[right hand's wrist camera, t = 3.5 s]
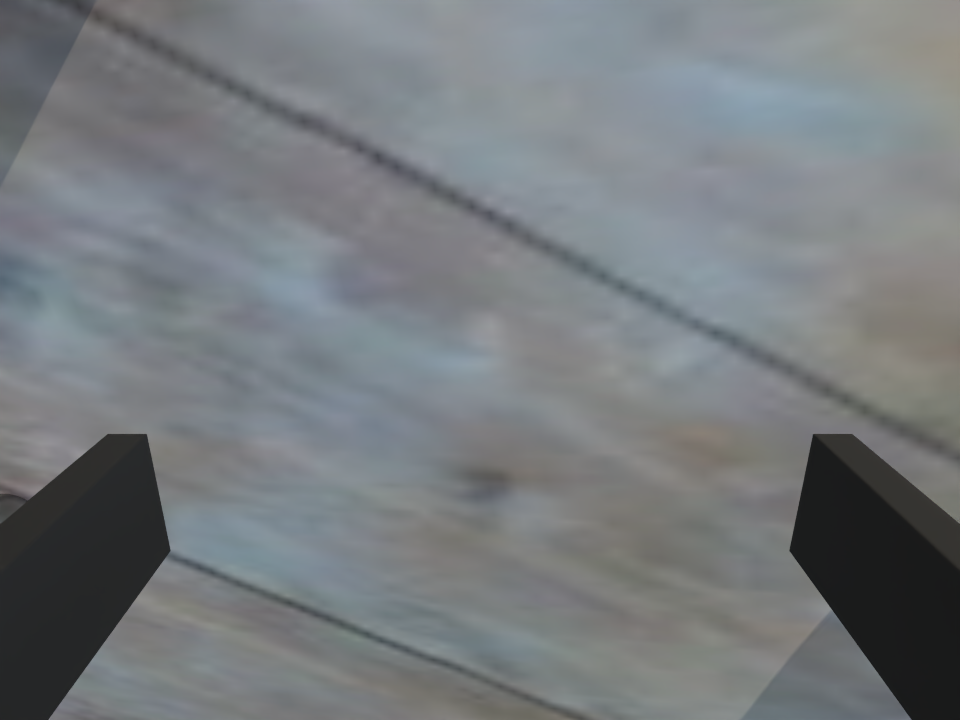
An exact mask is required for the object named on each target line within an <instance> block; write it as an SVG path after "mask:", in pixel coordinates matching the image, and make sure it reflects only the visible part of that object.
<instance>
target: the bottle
mask: <svg viewBox="0 0 960 720" xmlns="http://www.w3.org/2000/svg"><path fill="white" fill-rule="evenodd" d="M26 502H27V500H25V499H23V498H21V497H18V496H14V495H8V494H0V524H1V523H2V522H3V521H5V520H6V519H7V518H8V517H9V516H10V515H12V514H13V513H14V512H15V511H16V510H18V509H19V508H20V507H21V506H22V505H24V504H25V503H26Z"/></svg>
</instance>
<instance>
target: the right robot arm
mask: <svg viewBox="0 0 960 720" xmlns="http://www.w3.org/2000/svg"><path fill="white" fill-rule="evenodd" d="M169 552H170V546H169V541H168V536H167V531H166V526H165V521H164V516H163V511H162V507H161V502H160V497H159V492H158V487H157V482H156V477H155V472H154V467H153V462H152V457H151V453H150V448H149V443H148V438H147V434H107V435H106V436H105V437H104V438H103V439H101V440H100V441H99V442H98V443H97V444H95V445H94V446H93V447H92V448H91V449H89V450H88V451H87V452H86V453H85V454H83V455H82V456H81V457H80V458H79V459H78V460H76V461H75V462H74V463H73V464H72V465H70V466H69V467H68V468H67V469H66V470H64V471H63V472H62V473H61V474H60V475H58V476H57V477H56V478H55V479H54V480H52V481H51V482H50V483H49V484H48V485H46V486H45V487H44V488H43V489H42V490H40V491H39V492H38V493H37V494H36V495H34V496H33V497H32V498H31V499H30V500H28V501H27V502H26V503H25V504H24V505H22V506H21V507H20V508H19V509H18V510H16V511H15V512H14V513H13V514H12V515H10V516H9V517H8V518H7V519H6V520H5V521H3V522H2V523H1V524H0V720H48V719H49V718H50V716H51V715H52V714H53V712H54V711H55V710H56V708H57V707H58V705H59V704H60V703H61V701H62V700H63V699H64V697H65V696H66V694H67V693H68V692H69V690H70V689H71V687H72V686H73V685H74V683H75V682H76V681H77V679H78V678H79V676H80V675H81V674H82V672H83V671H84V670H85V668H86V667H87V665H88V664H89V663H90V661H91V660H92V658H93V657H94V656H95V654H96V653H97V652H98V650H99V649H100V647H101V646H102V645H103V643H104V642H105V641H106V639H107V638H108V636H109V635H110V634H111V632H112V631H113V629H114V628H115V627H116V625H117V624H118V623H119V621H120V620H121V618H122V617H123V616H124V614H125V613H126V612H127V610H128V609H129V607H130V606H131V605H132V603H133V602H134V600H135V599H136V598H137V596H138V595H139V594H140V592H141V591H142V589H143V588H144V587H145V585H146V584H147V582H148V581H149V580H150V578H151V577H152V576H153V574H154V573H155V571H156V570H157V569H158V567H159V566H160V565H161V563H162V562H163V560H164V559H165V558H166V556H167V555H168V553H169ZM790 552H791V553H792V555H793V556H794V558H795V559H796V560H797V562H798V563H799V565H800V566H801V567H802V569H803V570H804V571H805V573H806V574H807V576H808V577H809V578H810V580H811V581H812V583H813V584H814V585H815V587H816V588H817V589H818V591H819V592H820V594H821V595H822V596H823V598H824V599H825V600H826V602H827V603H828V605H829V606H830V607H831V609H832V610H833V612H834V613H835V614H836V616H837V617H838V618H839V620H840V621H841V623H842V624H843V625H844V627H845V628H846V629H847V631H848V632H849V634H850V635H851V636H852V638H853V639H854V641H855V642H856V643H857V645H858V646H859V647H860V649H861V650H862V652H863V653H864V654H865V656H866V657H867V658H868V660H869V661H870V663H871V664H872V665H873V667H874V668H875V670H876V671H877V672H878V674H879V675H880V676H881V678H882V679H883V681H884V682H885V683H886V685H887V686H888V687H889V689H890V690H891V692H892V693H893V694H894V696H895V697H896V699H897V700H898V701H899V703H900V704H901V705H902V707H903V708H904V710H905V711H906V712H907V714H908V715H909V716H910V718H911V719H912V720H960V524H959V523H958V522H957V521H955V520H954V519H953V518H952V517H951V516H950V515H948V514H947V513H946V512H945V511H944V510H942V509H941V508H940V507H939V506H938V505H936V504H935V503H934V502H933V501H932V500H930V499H929V498H928V497H927V496H926V495H924V494H923V493H922V492H921V491H920V490H918V489H917V488H916V487H915V486H914V485H912V484H911V483H910V482H909V481H908V480H906V479H905V478H904V477H903V476H902V475H900V474H899V473H898V472H897V471H896V470H894V469H893V468H892V467H891V466H890V465H888V464H887V463H886V462H885V461H884V460H882V459H881V458H880V457H879V456H878V455H877V454H875V453H874V452H873V451H872V450H871V449H869V448H868V447H867V446H866V445H865V444H863V443H862V442H861V441H860V440H859V439H857V438H856V437H855V436H854V435H853V434H813V438H812V443H811V448H810V453H809V457H808V462H807V467H806V472H805V477H804V482H803V487H802V492H801V497H800V502H799V506H798V511H797V516H796V521H795V526H794V531H793V536H792V541H791V546H790Z"/></svg>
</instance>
